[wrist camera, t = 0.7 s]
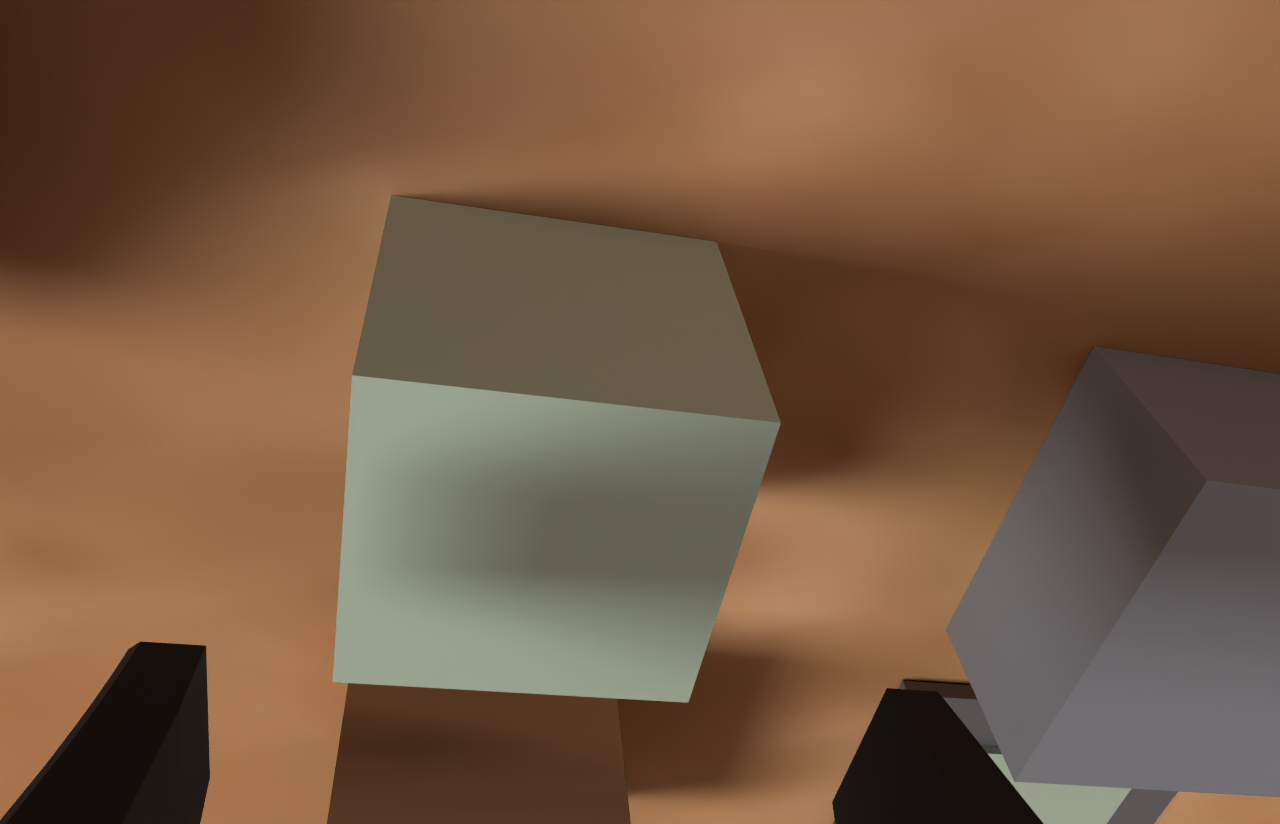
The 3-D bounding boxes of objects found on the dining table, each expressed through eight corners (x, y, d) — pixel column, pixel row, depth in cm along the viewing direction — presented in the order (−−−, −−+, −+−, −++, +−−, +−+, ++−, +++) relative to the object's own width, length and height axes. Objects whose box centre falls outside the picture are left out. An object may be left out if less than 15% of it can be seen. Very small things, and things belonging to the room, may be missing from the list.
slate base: (1228, 646, 24) (1340, 801, 21) (942, 620, 23) (1014, 781, 20) (1416, 389, 21) (1588, 528, 17) (1088, 338, 19) (1207, 480, 16)
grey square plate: (1079, 899, 29) (1089, 920, 29) (799, 893, 28) (804, 915, 27) (1225, 701, 25) (1239, 722, 24) (902, 680, 23) (910, 702, 23)
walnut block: (570, 794, 25) (583, 1019, 21) (344, 785, 24) (311, 1020, 20) (610, 639, 22) (635, 864, 18) (357, 622, 21) (321, 856, 17)
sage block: (650, 486, 20) (688, 702, 16) (370, 459, 19) (332, 682, 15) (715, 239, 17) (781, 422, 13) (391, 193, 16) (352, 375, 12)
